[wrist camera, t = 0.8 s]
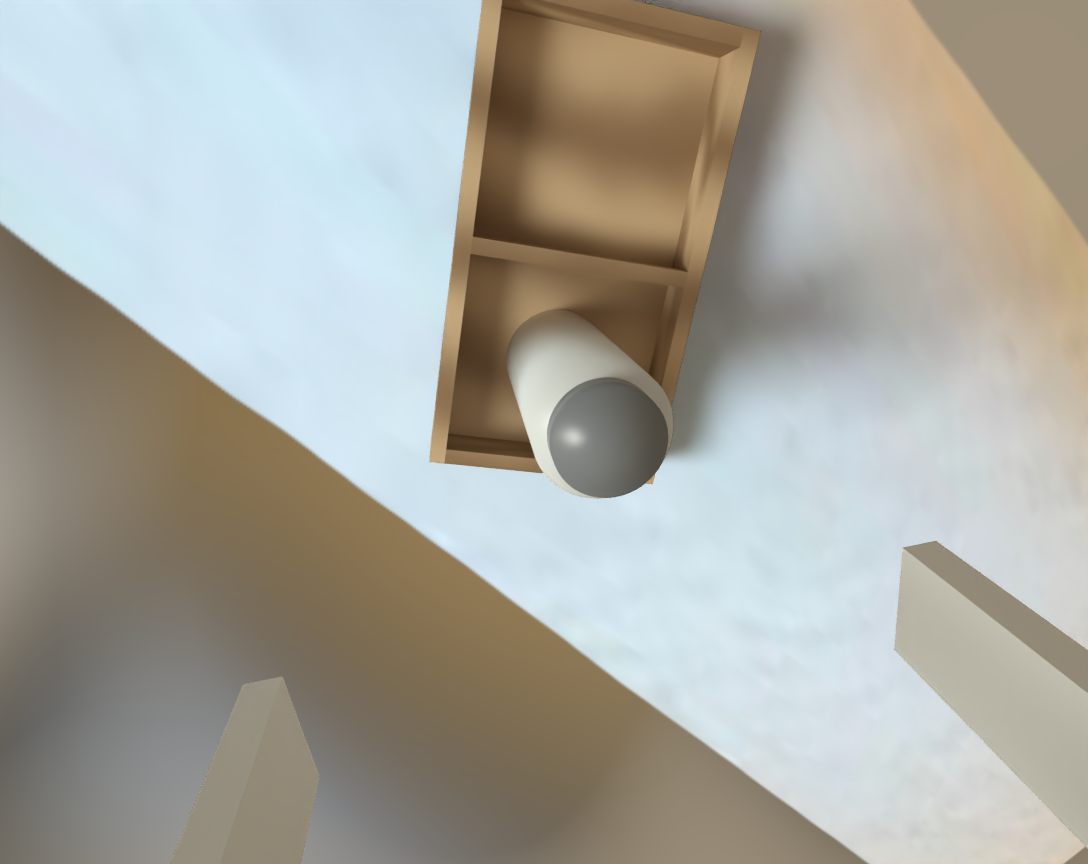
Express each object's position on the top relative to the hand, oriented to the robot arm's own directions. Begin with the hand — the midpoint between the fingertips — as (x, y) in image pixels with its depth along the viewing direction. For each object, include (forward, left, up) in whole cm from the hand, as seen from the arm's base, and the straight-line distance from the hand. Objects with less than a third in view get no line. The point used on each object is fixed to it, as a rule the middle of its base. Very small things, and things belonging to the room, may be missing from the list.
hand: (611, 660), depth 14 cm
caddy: (-5, +5, -25) cm, 26 cm away
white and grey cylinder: (0, +3, -24) cm, 24 cm away
